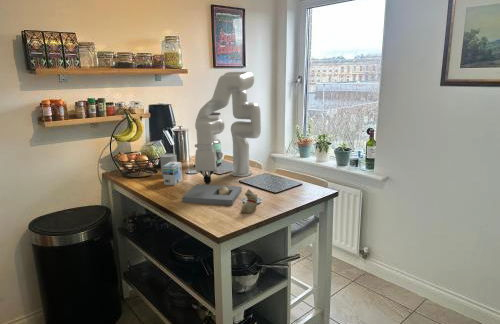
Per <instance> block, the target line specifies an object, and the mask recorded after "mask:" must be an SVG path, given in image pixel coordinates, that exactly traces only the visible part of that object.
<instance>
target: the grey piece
mask: <svg viewBox="0 0 500 324" xmlns="http://www.w3.org/2000/svg"><path fill="white" fill-rule="evenodd" d="M159 157H160V158H159V159H160V170H161V171H160V172H161V177H162V178H164V174H163V166H164V165H166V164H167V163H169V162H178V160H177V157H178V156H177V153H163V154H160V155H159Z"/></svg>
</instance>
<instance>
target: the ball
mask: <svg viewBox="0 0 500 324" xmlns="http://www.w3.org/2000/svg"><path fill="white" fill-rule="evenodd" d="M228 194H229V189H228V188H227V187H221V188H220V189H219V194H218V195H228Z"/></svg>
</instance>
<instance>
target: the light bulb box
mask: <svg viewBox="0 0 500 324" xmlns="http://www.w3.org/2000/svg"><path fill="white" fill-rule="evenodd" d="M182 167H183V166H182V162H181V161H177V162H169V163H167V164H166V165H164V166H163V174H164V177H163V183H164V186H165V185H167V186H176V185H177V184H179V183H180V182H182V181H183V169H182Z"/></svg>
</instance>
